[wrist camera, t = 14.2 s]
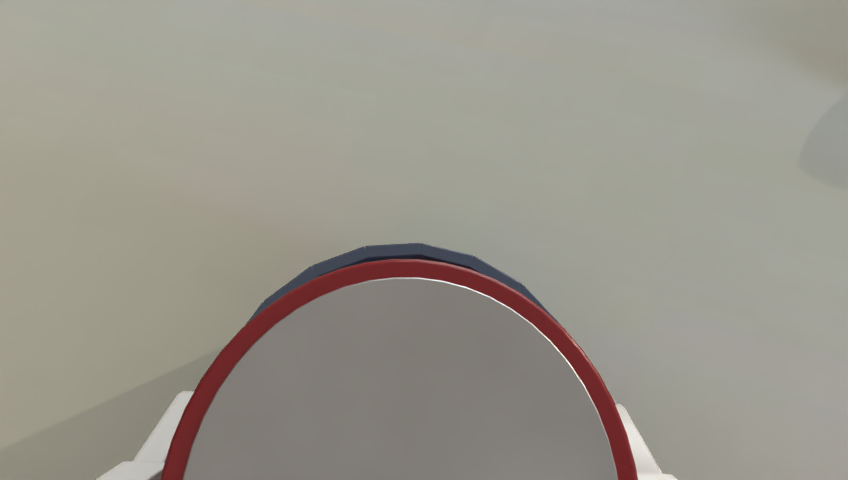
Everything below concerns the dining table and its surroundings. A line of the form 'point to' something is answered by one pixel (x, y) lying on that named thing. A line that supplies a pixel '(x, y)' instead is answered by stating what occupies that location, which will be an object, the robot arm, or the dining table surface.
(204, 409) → the can
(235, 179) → the dining table surface
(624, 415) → the robot arm
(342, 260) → the bowl
